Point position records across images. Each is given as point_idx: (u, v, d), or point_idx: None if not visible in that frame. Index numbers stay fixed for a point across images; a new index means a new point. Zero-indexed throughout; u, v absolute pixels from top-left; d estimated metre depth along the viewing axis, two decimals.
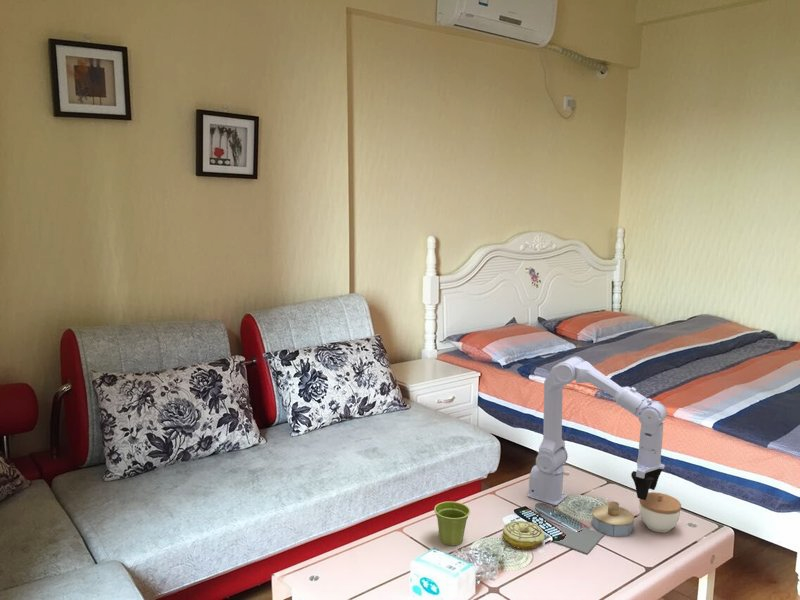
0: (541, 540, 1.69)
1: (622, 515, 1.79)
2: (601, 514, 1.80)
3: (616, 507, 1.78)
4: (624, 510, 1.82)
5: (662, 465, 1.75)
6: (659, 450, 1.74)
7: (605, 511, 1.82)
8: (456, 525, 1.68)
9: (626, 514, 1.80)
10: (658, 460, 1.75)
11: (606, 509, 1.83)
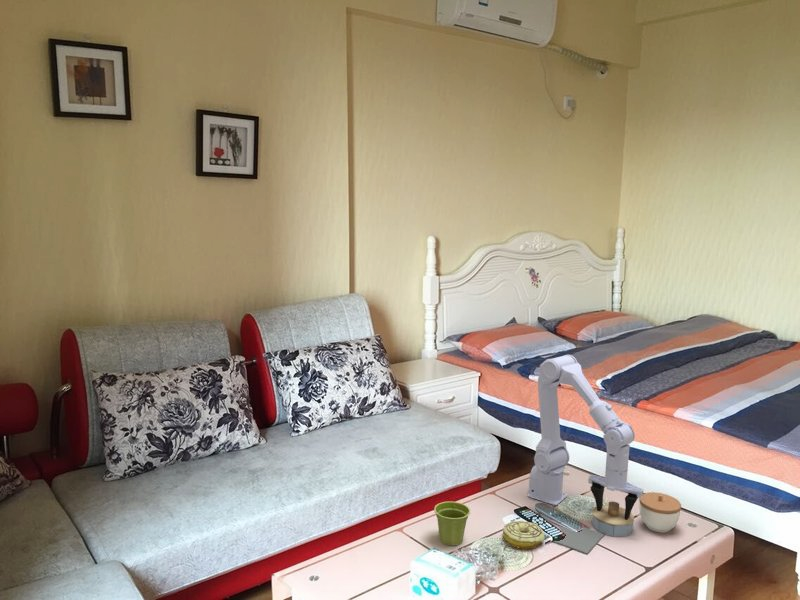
0: (541, 540, 1.69)
1: (622, 515, 1.79)
2: (601, 514, 1.80)
3: (616, 507, 1.78)
4: (624, 510, 1.82)
5: (611, 487, 1.76)
6: (610, 470, 1.76)
7: (605, 511, 1.82)
8: (456, 525, 1.68)
9: None
10: (609, 479, 1.77)
11: (606, 509, 1.83)
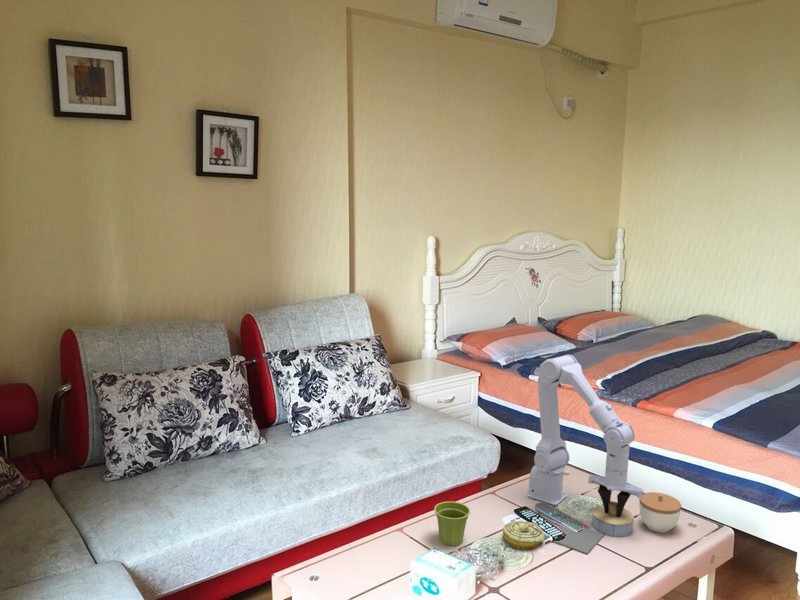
0: (541, 540, 1.69)
1: (622, 515, 1.79)
2: (601, 514, 1.80)
3: (616, 507, 1.78)
4: (624, 510, 1.82)
5: (611, 487, 1.76)
6: (610, 470, 1.76)
7: None
8: (456, 525, 1.68)
9: (626, 514, 1.80)
10: (609, 479, 1.77)
11: None
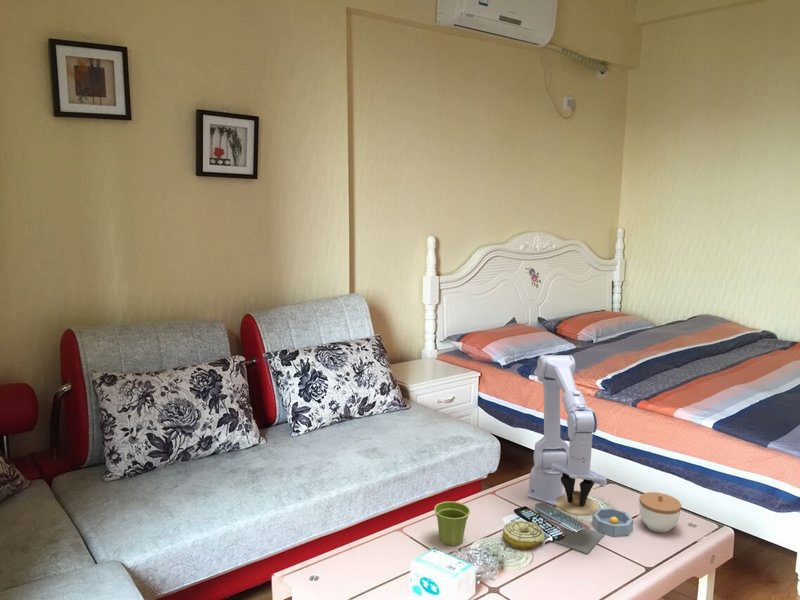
0: (541, 540, 1.69)
1: (586, 505, 1.72)
2: (564, 503, 1.73)
3: (579, 496, 1.72)
4: (589, 500, 1.75)
5: (573, 475, 1.69)
6: (572, 457, 1.69)
7: None
8: (456, 525, 1.68)
9: (590, 504, 1.73)
10: (571, 467, 1.70)
11: None
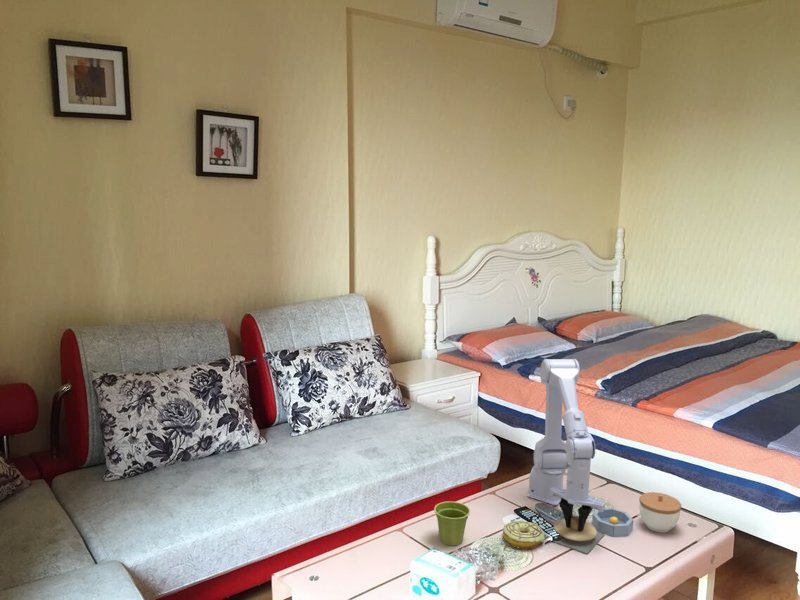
0: (541, 540, 1.69)
1: (584, 530, 1.74)
2: (562, 528, 1.74)
3: (578, 522, 1.73)
4: (588, 525, 1.77)
5: (571, 501, 1.70)
6: (570, 483, 1.71)
7: None
8: (456, 525, 1.68)
9: (589, 529, 1.74)
10: (570, 493, 1.71)
11: None
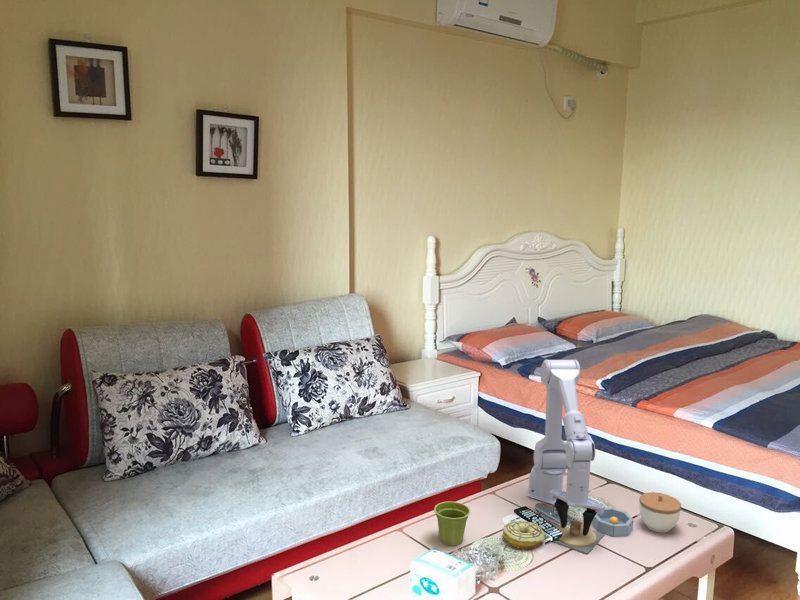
0: (541, 540, 1.69)
1: None
2: None
3: (577, 527, 1.73)
4: None
5: (571, 503, 1.70)
6: (570, 485, 1.71)
7: (567, 530, 1.77)
8: (456, 525, 1.68)
9: (588, 534, 1.75)
10: (569, 495, 1.71)
11: (569, 528, 1.78)
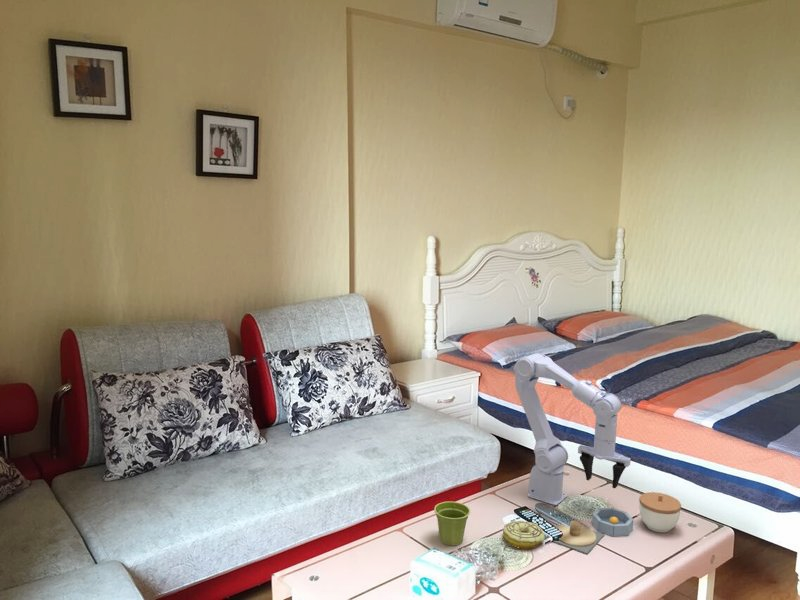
0: (541, 540, 1.70)
1: (584, 535, 1.74)
2: None
3: (577, 527, 1.73)
4: (587, 529, 1.77)
5: (599, 456, 1.81)
6: (598, 439, 1.81)
7: (567, 530, 1.77)
8: (456, 525, 1.68)
9: (588, 534, 1.75)
10: (597, 449, 1.82)
11: (569, 528, 1.78)
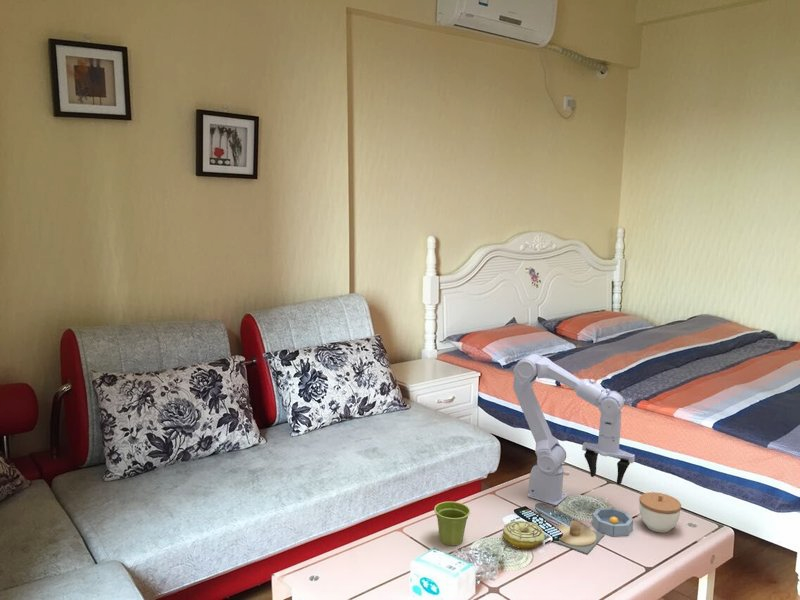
0: (541, 540, 1.70)
1: (584, 535, 1.74)
2: None
3: (577, 527, 1.73)
4: (587, 529, 1.77)
5: (604, 453, 1.83)
6: (602, 436, 1.84)
7: (567, 530, 1.77)
8: (456, 525, 1.68)
9: (588, 534, 1.75)
10: (602, 446, 1.84)
11: (569, 528, 1.78)
